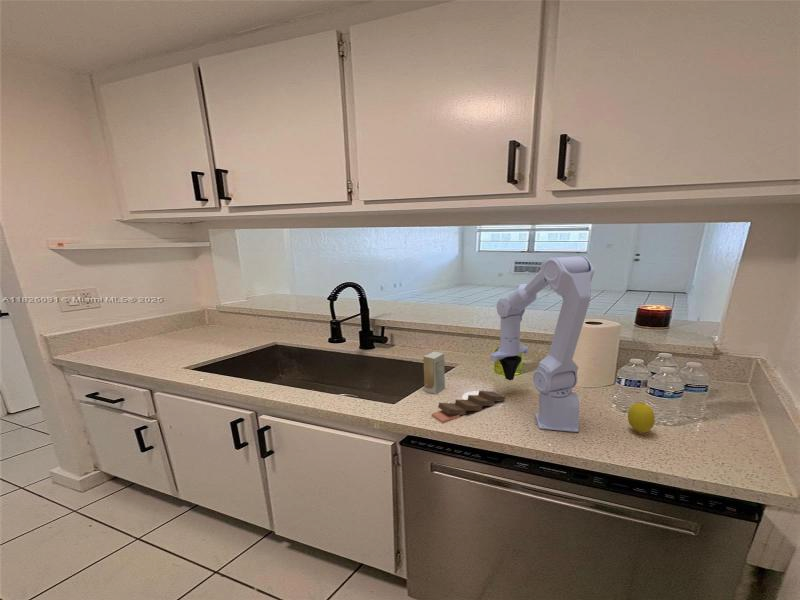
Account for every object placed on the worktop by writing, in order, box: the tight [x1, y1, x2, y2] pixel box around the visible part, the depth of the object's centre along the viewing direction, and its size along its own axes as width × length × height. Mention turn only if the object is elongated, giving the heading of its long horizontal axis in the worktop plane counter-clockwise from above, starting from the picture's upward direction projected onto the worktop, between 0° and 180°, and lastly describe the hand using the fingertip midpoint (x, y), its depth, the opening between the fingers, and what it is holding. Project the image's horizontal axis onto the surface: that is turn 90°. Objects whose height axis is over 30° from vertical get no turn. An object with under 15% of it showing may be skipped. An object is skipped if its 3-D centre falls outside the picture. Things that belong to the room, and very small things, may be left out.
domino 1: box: [437, 402, 467, 416], centre depth 103 cm, size 1×5×6 cm
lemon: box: [627, 401, 656, 434], centre depth 90 cm, size 6×6×8 cm
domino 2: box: [431, 409, 461, 424], centre depth 102 cm, size 1×5×6 cm
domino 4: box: [467, 394, 496, 407], centre depth 108 cm, size 1×5×6 cm
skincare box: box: [423, 351, 446, 395], centre depth 119 cm, size 6×4×12 cm
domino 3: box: [454, 399, 484, 412], centre depth 105 cm, size 1×5×6 cm
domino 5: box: [477, 390, 506, 403], centre depth 110 cm, size 1×5×6 cm
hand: (509, 379), depth 113 cm, fingers closed
